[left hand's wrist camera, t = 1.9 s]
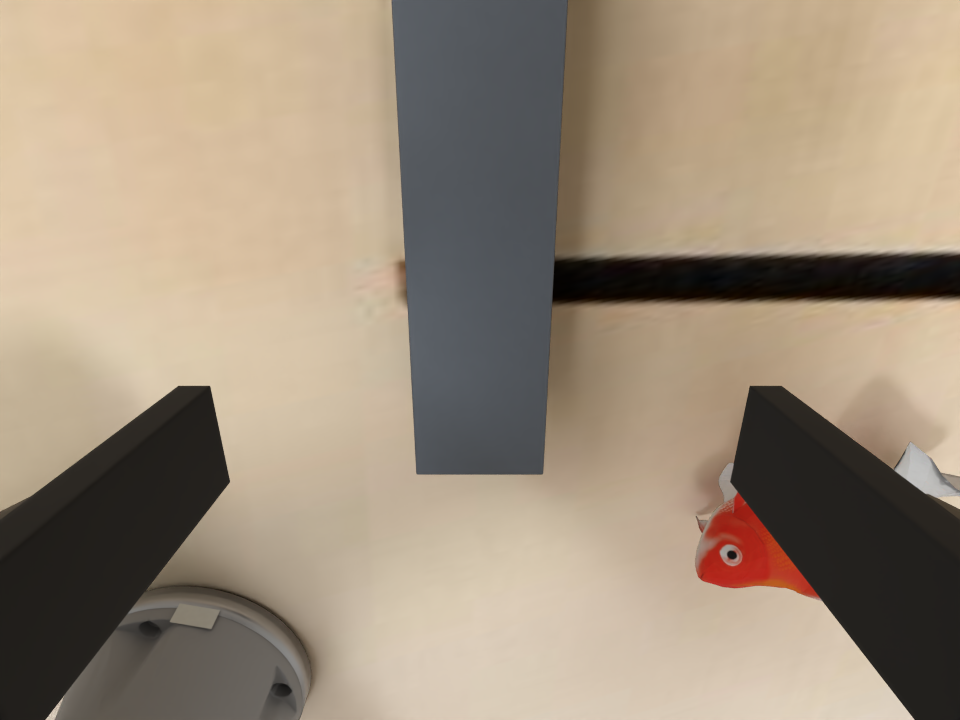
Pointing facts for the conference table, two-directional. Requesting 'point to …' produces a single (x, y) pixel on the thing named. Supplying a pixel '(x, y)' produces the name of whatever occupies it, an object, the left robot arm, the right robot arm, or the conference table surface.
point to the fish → (754, 552)
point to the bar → (479, 224)
